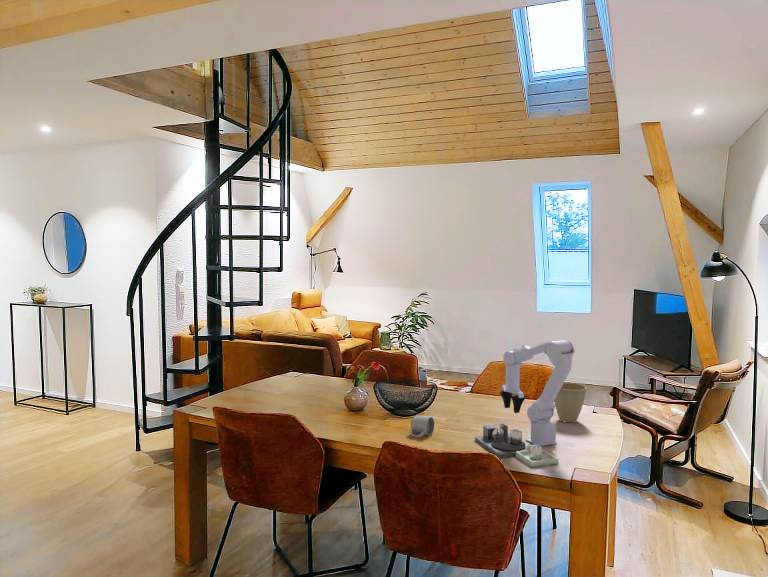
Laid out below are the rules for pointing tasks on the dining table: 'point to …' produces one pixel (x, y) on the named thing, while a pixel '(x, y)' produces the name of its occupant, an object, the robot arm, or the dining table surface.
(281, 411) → the dining table surface
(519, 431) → the spacer
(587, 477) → the dining table surface
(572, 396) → the plant pot
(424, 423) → the ceramic mug
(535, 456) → the cylinder
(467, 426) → the dining table surface
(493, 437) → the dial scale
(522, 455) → the tray
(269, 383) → the dining table surface
